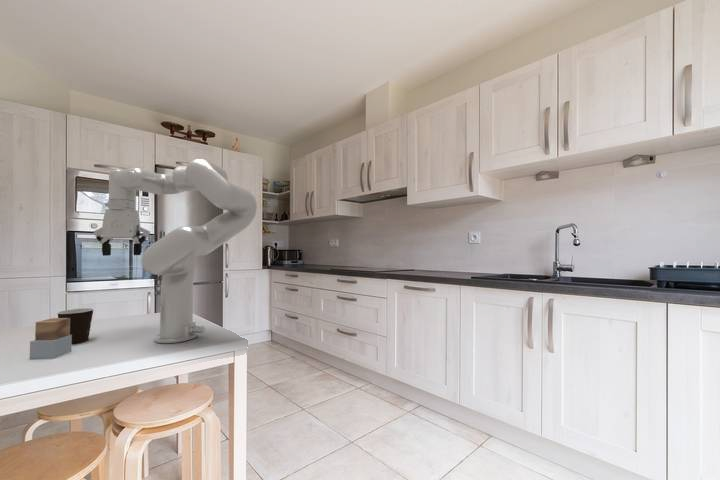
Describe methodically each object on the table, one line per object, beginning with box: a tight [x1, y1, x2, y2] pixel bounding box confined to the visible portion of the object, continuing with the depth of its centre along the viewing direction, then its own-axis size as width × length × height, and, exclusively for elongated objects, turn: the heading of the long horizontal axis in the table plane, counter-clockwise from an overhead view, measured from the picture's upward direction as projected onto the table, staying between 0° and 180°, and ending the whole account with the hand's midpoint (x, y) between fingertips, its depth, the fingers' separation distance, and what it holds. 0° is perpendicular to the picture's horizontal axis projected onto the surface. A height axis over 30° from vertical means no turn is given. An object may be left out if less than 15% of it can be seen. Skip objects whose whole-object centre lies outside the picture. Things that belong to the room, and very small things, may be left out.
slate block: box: [29, 335, 73, 360], centre depth 89 cm, size 6×6×5 cm
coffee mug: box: [57, 307, 94, 346], centre depth 102 cm, size 12×9×10 cm
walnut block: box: [34, 317, 70, 340], centre depth 89 cm, size 5×5×5 cm
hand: (122, 255), depth 108 cm, fingers open, 9 cm apart
